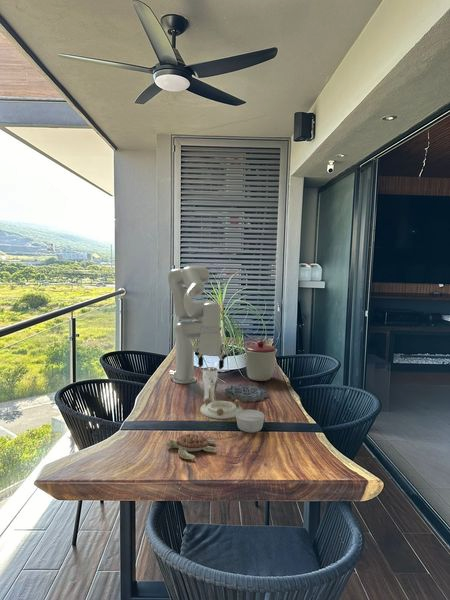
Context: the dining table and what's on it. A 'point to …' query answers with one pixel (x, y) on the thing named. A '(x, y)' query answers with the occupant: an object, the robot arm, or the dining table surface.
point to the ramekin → (250, 420)
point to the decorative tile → (246, 393)
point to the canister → (260, 361)
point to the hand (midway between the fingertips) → (210, 367)
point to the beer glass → (210, 383)
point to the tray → (222, 405)
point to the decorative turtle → (190, 444)
